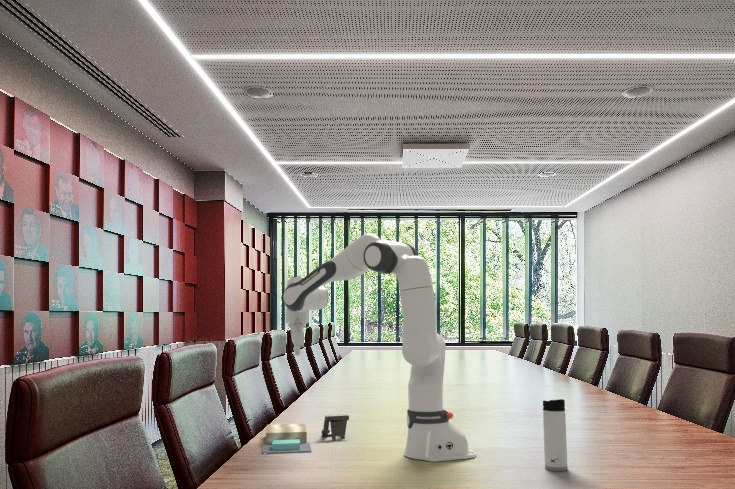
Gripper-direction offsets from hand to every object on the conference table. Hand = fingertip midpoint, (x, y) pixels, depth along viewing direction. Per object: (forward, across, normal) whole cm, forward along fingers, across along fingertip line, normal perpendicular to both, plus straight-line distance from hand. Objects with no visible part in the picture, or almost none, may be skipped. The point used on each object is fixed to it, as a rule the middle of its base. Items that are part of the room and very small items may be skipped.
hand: (297, 355), depth 235 cm
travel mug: (+29, -65, -73) cm, 102 cm away
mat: (+29, -25, +4) cm, 39 cm away
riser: (+29, -10, +4) cm, 31 cm away
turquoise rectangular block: (+27, -26, +4) cm, 37 cm away
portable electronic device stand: (+29, -9, -14) cm, 34 cm away
